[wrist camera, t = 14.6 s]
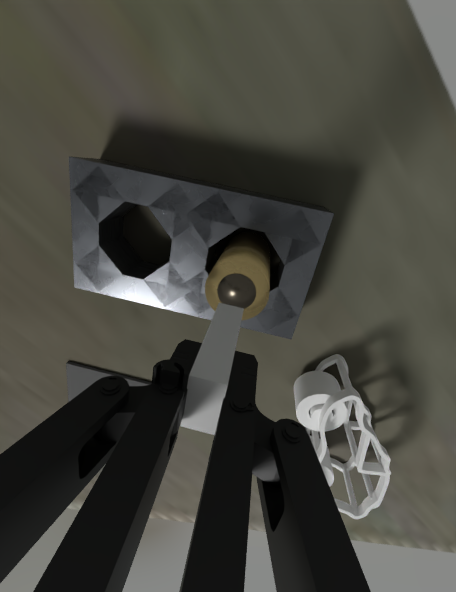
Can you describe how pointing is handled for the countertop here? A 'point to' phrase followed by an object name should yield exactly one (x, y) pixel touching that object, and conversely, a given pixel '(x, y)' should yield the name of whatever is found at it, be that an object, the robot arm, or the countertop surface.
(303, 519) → the robot arm
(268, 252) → the bushing
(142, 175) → the block
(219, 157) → the countertop surface
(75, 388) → the mat
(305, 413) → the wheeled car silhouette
